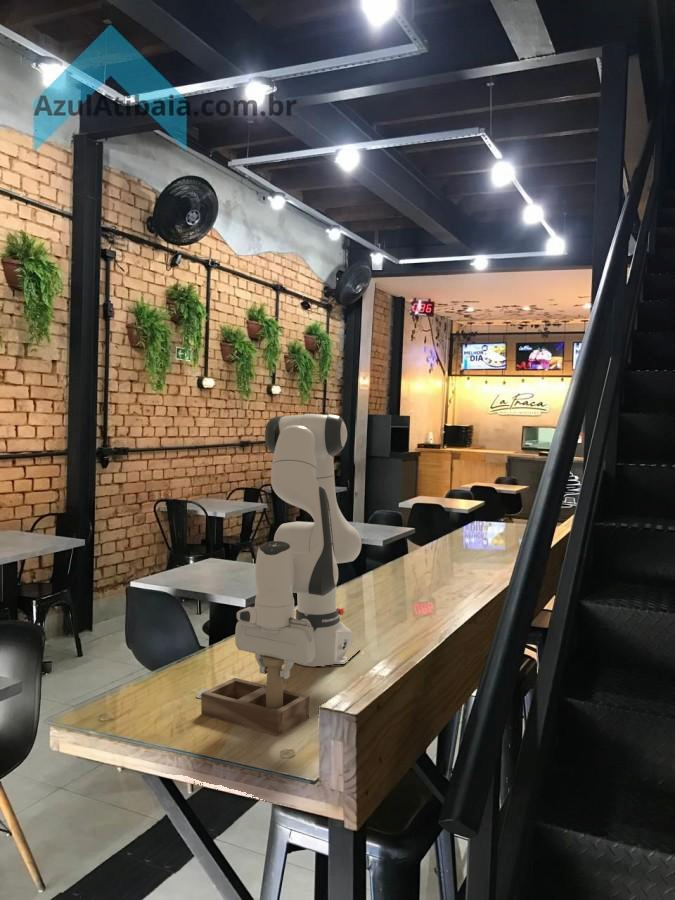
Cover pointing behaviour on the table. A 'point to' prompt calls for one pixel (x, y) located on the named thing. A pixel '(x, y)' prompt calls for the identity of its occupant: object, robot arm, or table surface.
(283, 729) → the divided box
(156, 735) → the table surface
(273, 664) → the handle
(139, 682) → the table surface
